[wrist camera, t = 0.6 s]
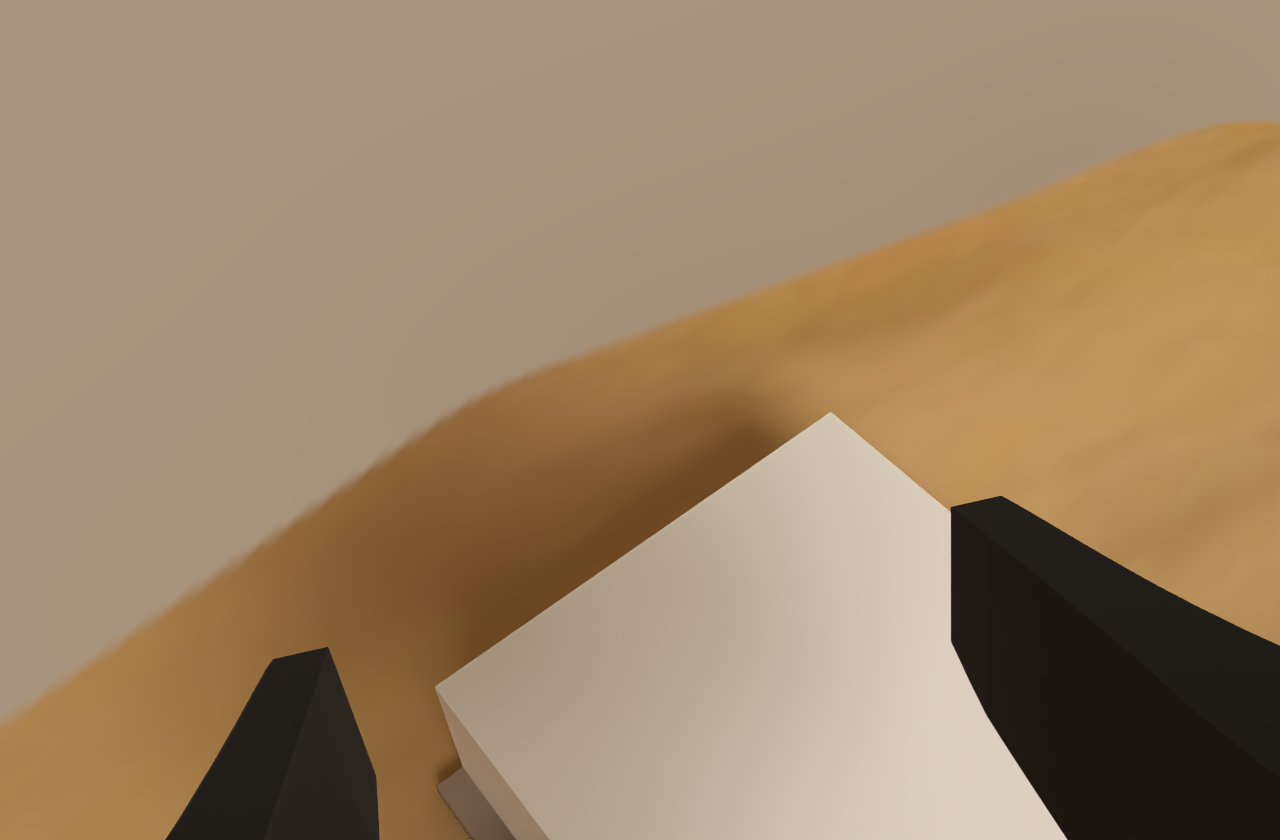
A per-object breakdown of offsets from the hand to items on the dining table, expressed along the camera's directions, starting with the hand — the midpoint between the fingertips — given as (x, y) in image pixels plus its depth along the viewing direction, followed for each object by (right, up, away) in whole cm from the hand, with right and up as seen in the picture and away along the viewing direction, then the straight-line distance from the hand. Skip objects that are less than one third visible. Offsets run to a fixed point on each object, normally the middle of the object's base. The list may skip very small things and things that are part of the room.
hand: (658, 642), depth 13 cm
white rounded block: (+4, -7, +16) cm, 18 cm away
